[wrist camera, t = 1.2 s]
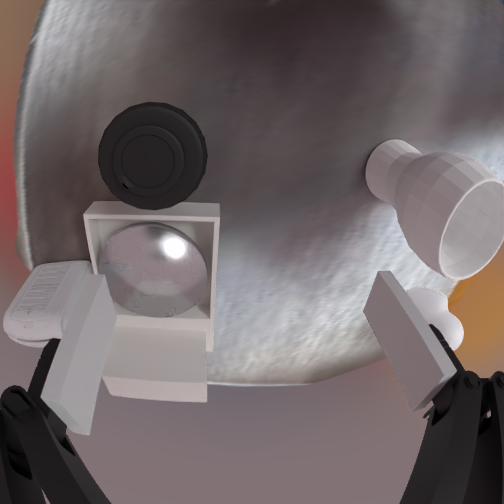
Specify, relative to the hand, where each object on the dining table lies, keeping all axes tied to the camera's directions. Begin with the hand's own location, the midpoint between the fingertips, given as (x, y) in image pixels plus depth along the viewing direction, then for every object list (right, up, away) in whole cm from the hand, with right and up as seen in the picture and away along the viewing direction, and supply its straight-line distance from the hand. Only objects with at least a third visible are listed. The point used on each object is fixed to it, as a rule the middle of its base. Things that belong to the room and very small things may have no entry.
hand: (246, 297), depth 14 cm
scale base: (-11, -1, +21) cm, 24 cm away
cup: (+17, +12, +17) cm, 27 cm away
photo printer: (-24, -1, +20) cm, 31 cm away
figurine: (+27, -6, +30) cm, 41 cm away
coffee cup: (-8, +13, +13) cm, 20 cm away
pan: (-11, +1, +19) cm, 22 cm away
